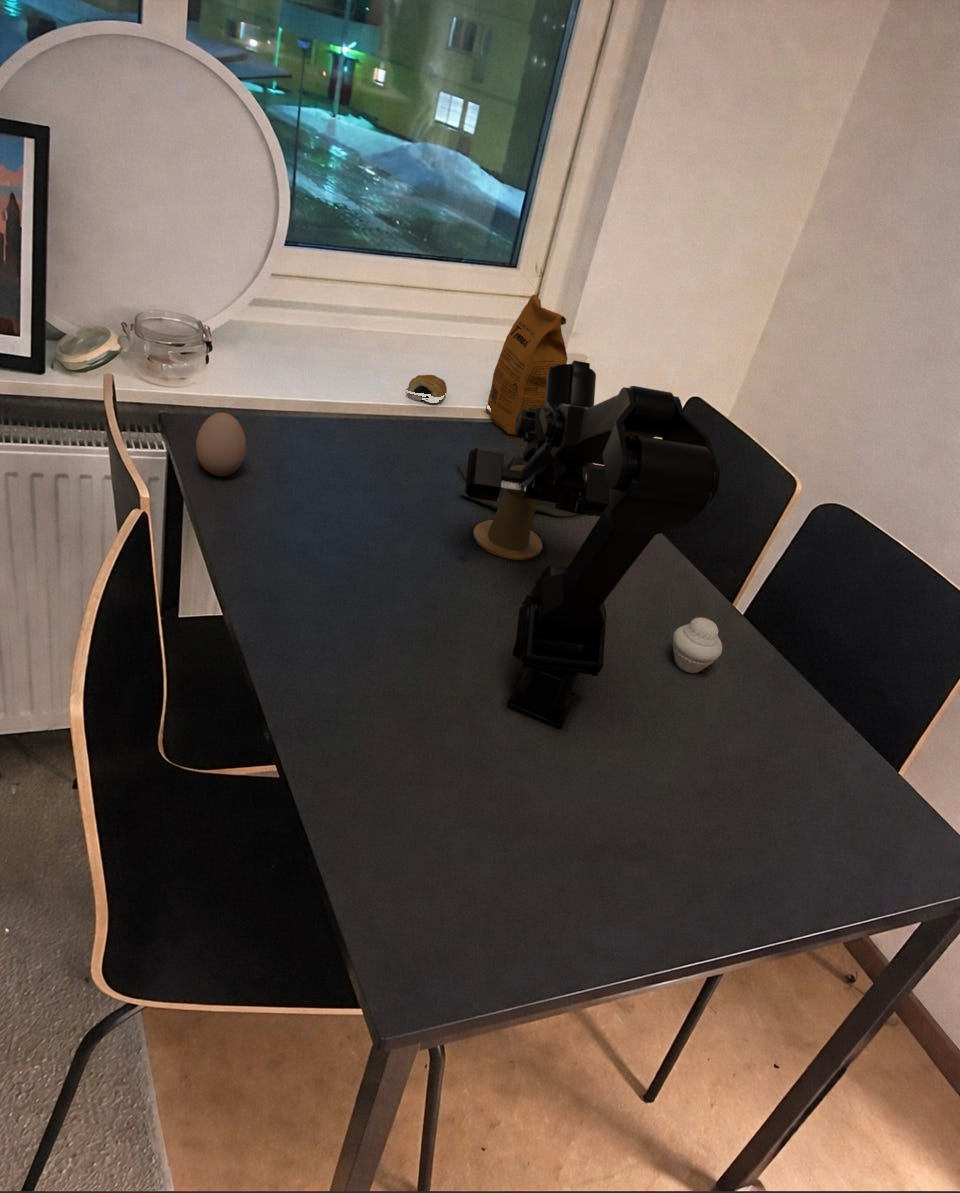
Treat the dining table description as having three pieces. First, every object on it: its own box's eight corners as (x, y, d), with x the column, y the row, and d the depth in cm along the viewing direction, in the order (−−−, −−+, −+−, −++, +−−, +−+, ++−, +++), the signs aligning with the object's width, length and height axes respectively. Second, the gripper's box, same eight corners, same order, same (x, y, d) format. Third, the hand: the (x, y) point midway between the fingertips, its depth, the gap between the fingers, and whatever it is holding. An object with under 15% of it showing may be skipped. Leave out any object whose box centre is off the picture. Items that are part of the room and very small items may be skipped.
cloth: (465, 513, 133) (473, 476, 129) (446, 455, 147) (454, 420, 144) (606, 528, 138) (617, 492, 135) (574, 470, 153) (585, 437, 150)
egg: (194, 461, 128) (197, 401, 123) (242, 464, 130) (247, 405, 125) (195, 484, 123) (198, 422, 118) (245, 487, 125) (250, 426, 120)
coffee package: (525, 409, 171) (556, 293, 159) (552, 439, 162) (586, 319, 150) (477, 406, 167) (505, 287, 155) (502, 437, 158) (533, 313, 146)
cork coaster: (529, 568, 124) (530, 565, 124) (462, 542, 126) (463, 540, 125) (550, 538, 132) (550, 536, 132) (487, 514, 134) (488, 512, 134)
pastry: (419, 381, 171) (422, 362, 169) (452, 392, 170) (456, 373, 168) (403, 397, 163) (406, 377, 161) (438, 408, 163) (442, 388, 160)
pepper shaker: (480, 528, 129) (497, 459, 123) (517, 526, 132) (535, 459, 126) (498, 551, 125) (517, 481, 119) (536, 549, 128) (556, 480, 122)
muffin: (682, 684, 109) (702, 638, 105) (654, 652, 114) (672, 607, 110) (721, 677, 112) (742, 633, 108) (692, 647, 116) (712, 603, 113)
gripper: (636, 412, 110) (593, 454, 125) (487, 386, 107) (461, 432, 122) (631, 499, 108) (588, 531, 123) (478, 476, 105) (453, 511, 120)
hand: (523, 499), depth 122 cm, fingers open, 9 cm apart
